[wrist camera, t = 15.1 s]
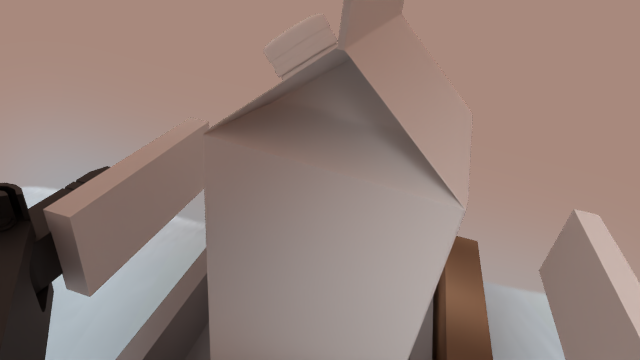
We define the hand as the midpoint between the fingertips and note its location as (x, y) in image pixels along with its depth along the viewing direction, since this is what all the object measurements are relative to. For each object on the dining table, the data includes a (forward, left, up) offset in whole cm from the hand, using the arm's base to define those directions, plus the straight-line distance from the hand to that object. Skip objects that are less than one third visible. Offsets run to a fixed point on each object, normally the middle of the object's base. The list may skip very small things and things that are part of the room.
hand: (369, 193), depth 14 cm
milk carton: (+1, 0, -12) cm, 12 cm away
